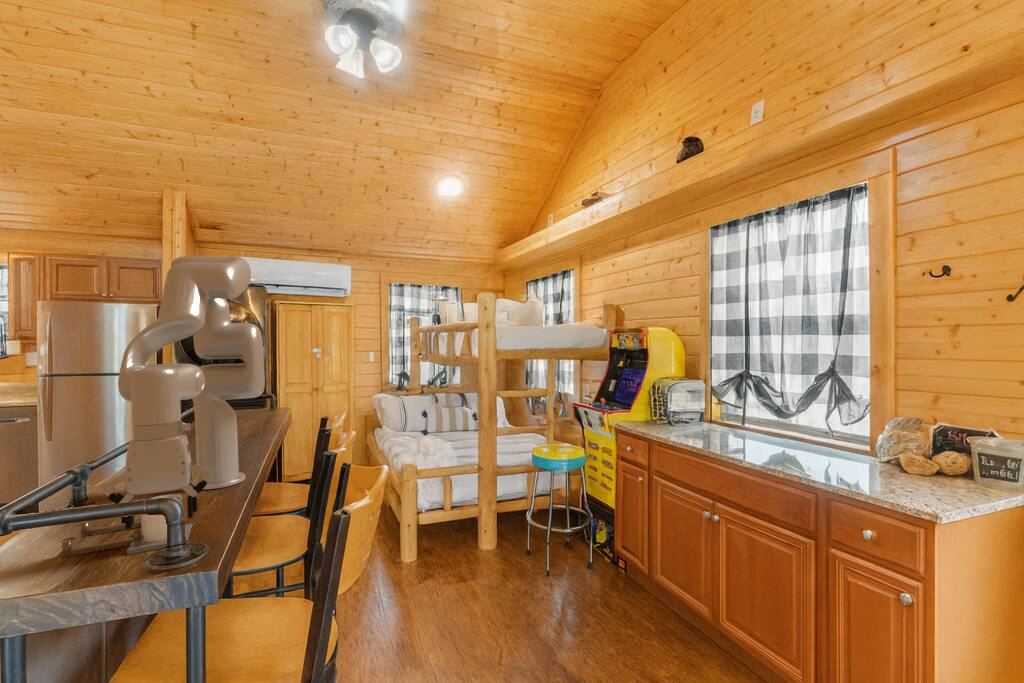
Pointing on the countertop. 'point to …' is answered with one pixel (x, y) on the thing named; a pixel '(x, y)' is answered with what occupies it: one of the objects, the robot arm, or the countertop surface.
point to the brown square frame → (74, 548)
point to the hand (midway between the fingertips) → (161, 521)
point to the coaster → (152, 543)
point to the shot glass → (156, 524)
